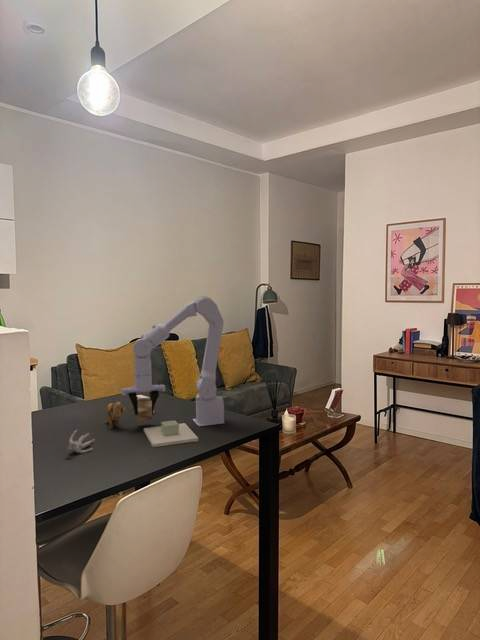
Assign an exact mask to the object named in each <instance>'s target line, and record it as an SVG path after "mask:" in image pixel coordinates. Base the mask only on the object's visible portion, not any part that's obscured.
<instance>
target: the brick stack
mask: <svg viewBox="0 0 480 640" xmlns="http://www.w3.org/2000/svg"><path fill="white" fill-rule="evenodd" d="M137 409H138V415H135V417H136V419H137V421H138V422H141V421H151V420H153V414H152V401H151V399H150V397H149V398H141V399H137Z"/></svg>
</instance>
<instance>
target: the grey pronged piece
mask: <svg viewBox="0 0 480 640" xmlns="http://www.w3.org/2000/svg"><path fill="white" fill-rule="evenodd" d="M78 432H79V430H78V429H76V430H74V431H73V433H71V436H70V437H69V439H68V440H69V441H68V445H66V446H65V447H64V448H65V449H66V450H67V451H68V452H69V454H71V452H72V451H74V452H76V453H77V454H86V453H89V452H91V451H92V450H94V448H92V447H90V448H88V449H86V448H87V447H88V446H91V444H92V443H94V442H95V441H96V439H95V438H92V439H90V440H89V441H85V442H84V443H83V441H84V440H85V439H86V438H87V437H89V436H90V435H91V434H90V432H88V433H86V434H84V435H81V436H80V437H79V438H78V440H74V437H75V434H77V433H78ZM84 449H85V450H84Z"/></svg>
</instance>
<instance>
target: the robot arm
mask: <svg viewBox="0 0 480 640" xmlns="http://www.w3.org/2000/svg"><path fill="white" fill-rule="evenodd" d="M217 304H218V303H216V302H215V301H214V300H213V299H212V298H211V297H208V296H205V295H201V296H198V297H196V298H195V300H192V301H190V302H189V303H187V304H186V305H183V307H182V308H181V309H180V310H178V311H176V313H175V314H174V315H173V316H172V317H170V318H169V319H168V320H167V321H166V322H165V323H157V324H153V325H152V326H151V329H150V330H149V331H147V332H146V333H145V334H141V335H140V337H141V338H139V339H136V341H135V342H134V343H133V347H132V348H133V349H132V350H133V353H134V355H133V359H134V360H133V373H134V374H133V375H134V379H133V380H134V386H130V387H123V388H120V392H121V393H120V394H121V396H125V395H128V397H129V399H130V402H131V404H132V406H133V411H134V415H135V416H136V415H138V409H137V394H144V393H145V394H146V393H149V398H150V399H151V401H152V413H153V411H154V412H155V405H156V403H157V400H158V398H159V396H160V393H159V392H166V385H165V384H152V383H153V381H152V380H153V379H152V375H153V374H152V360H151V352H152V349H156V348H157V347H159V345H161V344H162V343H163V342H164V341H165V340H167V339H168V338H169V337H170V335H171V334H170V333H171V331H172V330H173V329H175V328H176V327H177V326H178V325H180V324H181V323H183V322H184V321H185V320H187V319H188V318H191V317H196V316H198V315H200V316H202V317H203V319H205V321H206V323H208V330H207V335H206V336H207V337H206V341H205V342H206V343H205V349H204V356H203V360H202V361H203V362H202V366H201V367H202V368H201V370H200V374H199V377H198V379H197V380H196V382H195V388H196V390H197V392H198V393H197V394H196V396H195V418H192V421H193V422H194V423H195V424H196V425H197V426H198V427H206V426H213V425H222V424H225V404H224V403H225V402H224V398H223V397H222V396H221V395H220V396H218V395H217V392H218V391H217V389H218V388H217V385H216V379H217V378H216V377H217V375H216V371H217V365H218V359H219V358H218V357H219V352H220V348H221V340H222V335H223V328H224V321H225V320H224V318H223V315H222V314H221V312H220V309H219V307H218V305H217ZM153 414H154V413H153Z"/></svg>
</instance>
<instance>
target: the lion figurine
mask: <svg viewBox="0 0 480 640" xmlns="http://www.w3.org/2000/svg"><path fill="white" fill-rule="evenodd" d="M126 410H127V408H126V407H125V406H123V405H122V402H120V401H117V402H114V403H111V402H110V403H108V404H107V406H106V418H105V419H106V420H105V422H104V423H105V424H108V423H109V427H108V428H109V429H113V428H114V425H113V421H116V422H115V425H116V427H120V426H121V424H120V423H119V422H120V418H121V416H122V414H126V413H125V412H126Z"/></svg>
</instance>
